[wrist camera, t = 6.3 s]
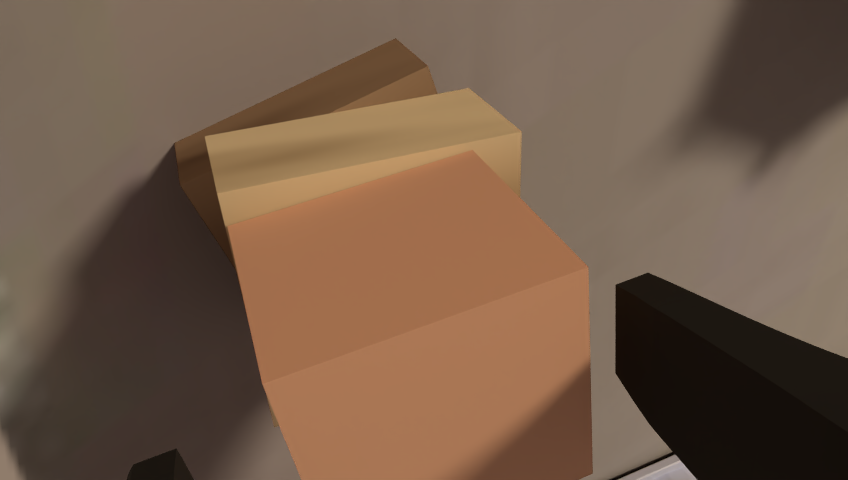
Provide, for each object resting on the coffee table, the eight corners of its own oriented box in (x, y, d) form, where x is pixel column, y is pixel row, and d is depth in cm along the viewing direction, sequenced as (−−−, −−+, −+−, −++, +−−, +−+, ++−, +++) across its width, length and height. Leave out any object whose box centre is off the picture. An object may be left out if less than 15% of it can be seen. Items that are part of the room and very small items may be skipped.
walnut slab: (458, 215, 19) (495, 261, 17) (280, 304, 19) (297, 364, 17) (390, 34, 16) (427, 66, 14) (173, 137, 16) (180, 185, 14)
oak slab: (472, 294, 18) (516, 356, 16) (256, 351, 16) (274, 427, 14) (468, 88, 15) (521, 131, 13) (204, 136, 13) (217, 193, 11)
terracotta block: (495, 332, 15) (593, 473, 12) (295, 406, 14) (342, 579, 11) (472, 149, 13) (588, 267, 9) (227, 226, 12) (262, 383, 8)
